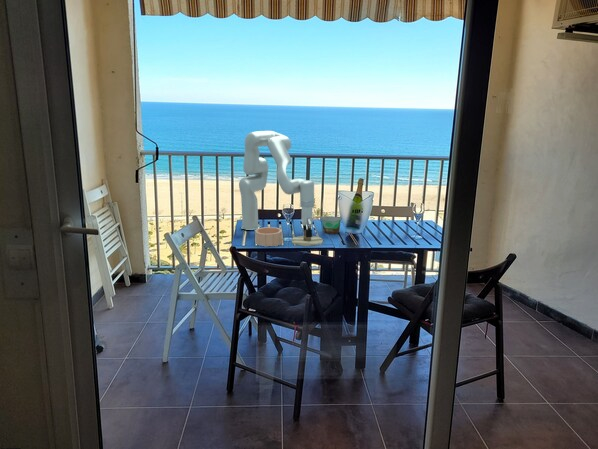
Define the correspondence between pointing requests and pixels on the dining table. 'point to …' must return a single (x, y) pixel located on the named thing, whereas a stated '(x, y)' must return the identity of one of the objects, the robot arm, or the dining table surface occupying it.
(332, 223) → the food container
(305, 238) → the lid
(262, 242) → the bowl
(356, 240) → the dining table surface
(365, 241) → the dining table surface
